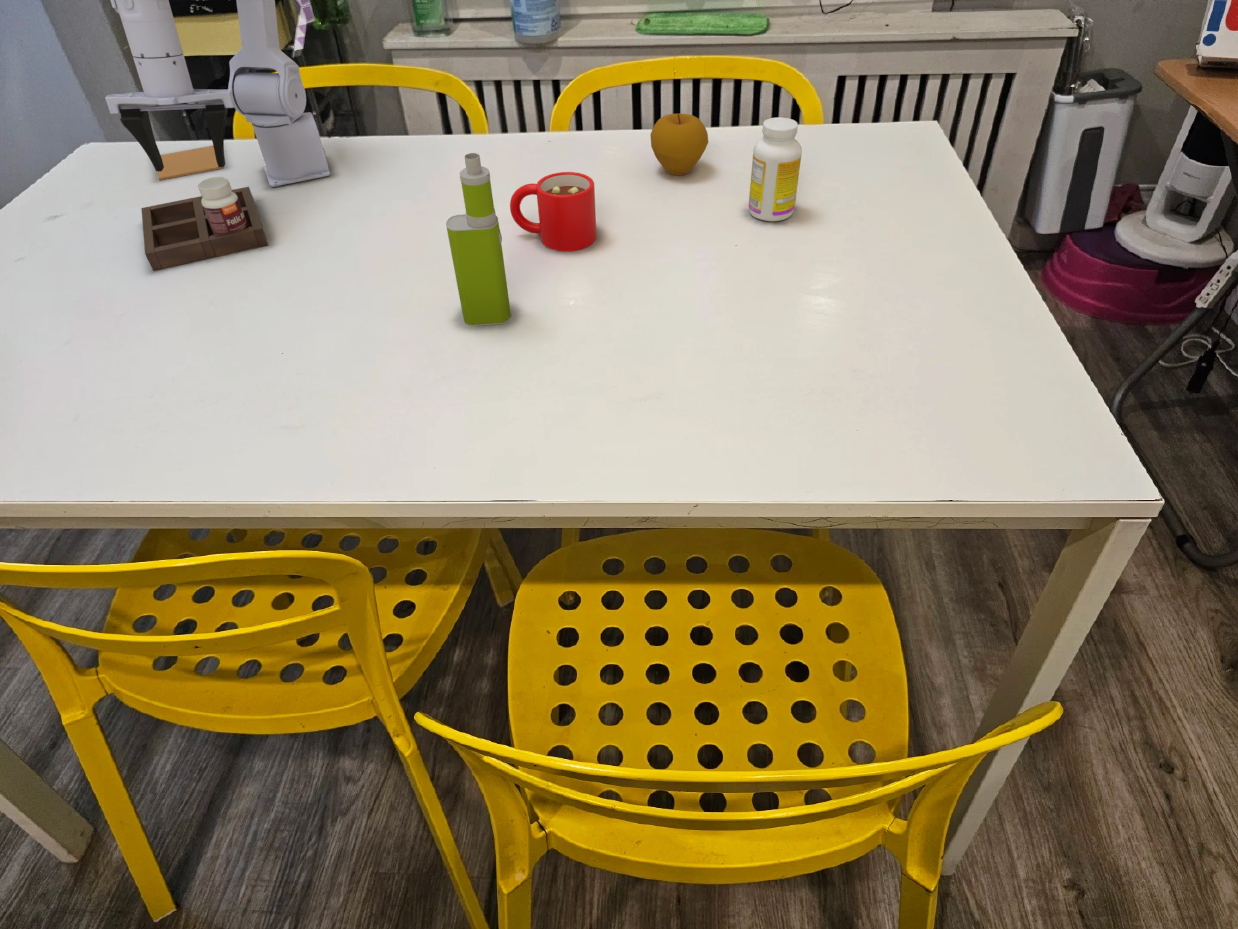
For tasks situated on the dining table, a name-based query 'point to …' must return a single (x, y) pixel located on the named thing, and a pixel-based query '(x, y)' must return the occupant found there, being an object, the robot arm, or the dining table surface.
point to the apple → (678, 142)
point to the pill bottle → (221, 206)
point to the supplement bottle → (775, 171)
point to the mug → (560, 210)
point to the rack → (196, 232)
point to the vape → (478, 250)
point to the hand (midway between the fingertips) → (191, 167)
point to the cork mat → (188, 163)
